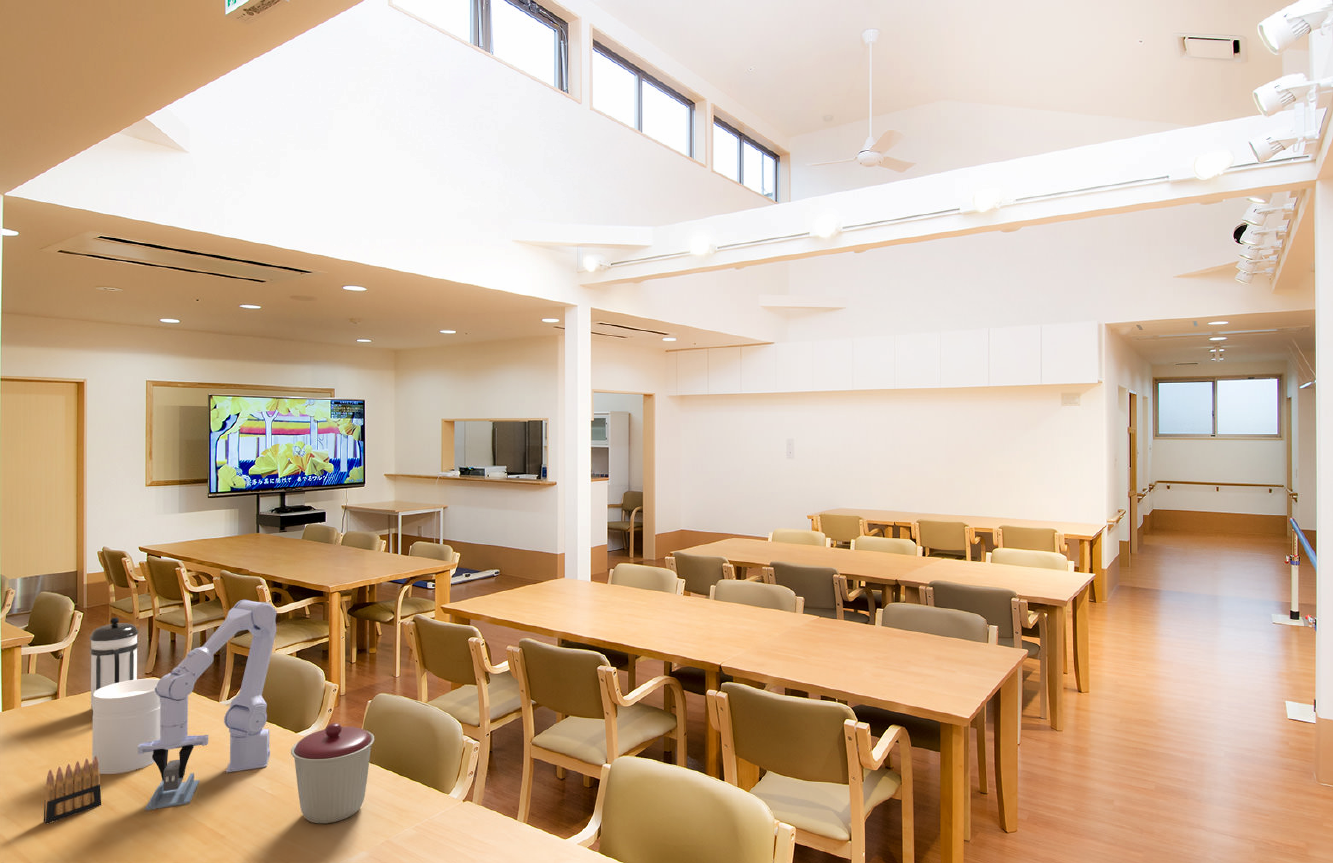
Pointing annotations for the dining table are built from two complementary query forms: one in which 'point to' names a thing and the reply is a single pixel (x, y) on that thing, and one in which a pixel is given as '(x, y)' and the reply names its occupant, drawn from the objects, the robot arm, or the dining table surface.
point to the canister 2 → (332, 772)
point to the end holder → (173, 794)
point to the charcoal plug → (172, 776)
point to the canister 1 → (125, 724)
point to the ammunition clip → (72, 792)
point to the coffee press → (113, 654)
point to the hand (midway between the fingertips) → (173, 777)
